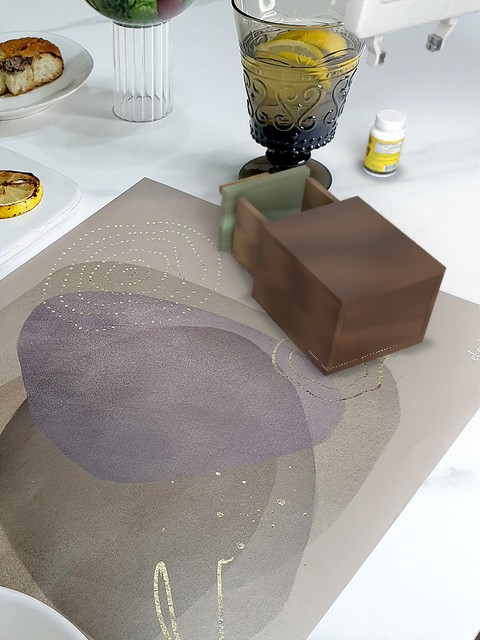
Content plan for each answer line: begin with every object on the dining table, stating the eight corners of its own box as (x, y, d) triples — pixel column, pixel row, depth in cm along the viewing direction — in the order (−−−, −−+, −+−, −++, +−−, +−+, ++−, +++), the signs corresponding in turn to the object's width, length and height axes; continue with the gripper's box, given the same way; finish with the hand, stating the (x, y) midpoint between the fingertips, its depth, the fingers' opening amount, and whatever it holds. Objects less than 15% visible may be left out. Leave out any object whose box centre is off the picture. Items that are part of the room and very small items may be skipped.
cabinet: (251, 296, 105) (261, 223, 97) (341, 268, 108) (357, 195, 101) (325, 376, 95) (342, 301, 87) (422, 342, 98) (446, 267, 90)
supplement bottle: (366, 158, 126) (378, 104, 120) (399, 164, 125) (412, 110, 119) (358, 174, 123) (370, 120, 117) (392, 181, 122) (405, 126, 116)
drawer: (199, 228, 114) (203, 169, 108) (276, 206, 117) (284, 147, 111) (277, 311, 101) (287, 250, 95) (361, 284, 104) (376, 223, 98)
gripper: (375, -33, 98) (352, 83, 108) (517, -63, 103) (482, 50, 113) (342, -50, 102) (323, 63, 112) (480, -78, 107) (450, 33, 117)
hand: (404, 57), depth 112 cm, fingers open, 8 cm apart
